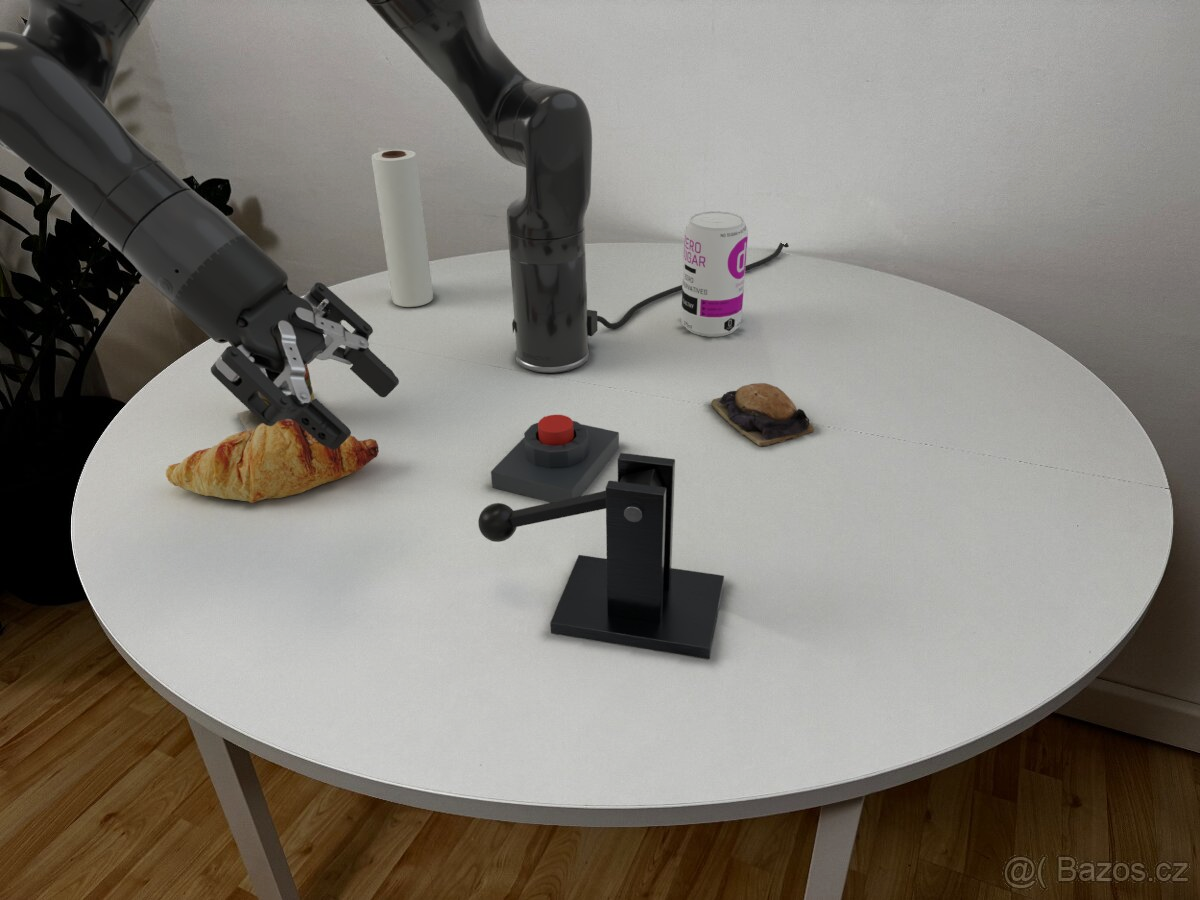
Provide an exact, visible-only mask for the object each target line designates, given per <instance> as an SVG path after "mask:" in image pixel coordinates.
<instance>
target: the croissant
mask: <svg viewBox="0 0 1200 900" xmlns="http://www.w3.org/2000/svg"><path fill="white" fill-rule="evenodd" d="M379 451H380V450H379V445H378V442H377V440H376V439H372V438H368V439H363V440H362V439H361V440H358V439H357V438H356V437H355V436H354V435H350V436H349V437H348V438H347V439H346V440H345V441H344V442H343V443H342V444H341V445H340V446H339V447H338V448H337V449H336V450H332V449H330V448H329V447H326V446H323V445H321V444H320V443H319V442H318V441H317V440H316V439H315V438H313V437H312V436H311V435H310V434H309V433H308V432H307V431H305V430H304V429H303V428H302V427H301V426H300V425H299V424H298V423H296V422H295V421H293V420H287V419H285V420H282V421H278V422H276V424H275V425H273V426H267V425H265V424H264V423H261V424H260V425H258V427H257V428H256V429H254V430H249V431H246V430H243V431H241V432H237V433H235V434H232V435H229V436H227V437H225V438H223V440H221V441H220V442H219V443H218V444H216V445H214V446H213V445H212V447H207V448H204V449H199V450H196V451H194V452H193V453H192V454H191V455H189V456H187V457H185V458H184V459H182V461H181V462H178V463H174V464H170V465H168V467H167V469H166V470H165V477H166V479H167V481H168V482H169V483H170V484H171V485H173V486H175V487H179V488H181V489H183V490H188V491H191V492H193V493H195V494H198V495H202V496H205V497H208V496H209V497H216V498H220V499H223V500H236V501H242V502H249V503H250V504H253V503H256V502H259V501H262V500H265V499H281V498H287V497H291V496H294V495H298V494H302V493H304V492H306V491H309V490H311V489H313V488H316V487H318V486H321V485H324V484H326V483H329V482H334V481H337V480H340V479H342V478H344V477H347V476H349V475H351V474H354V473H356V472H358V471H360V470H361V469H362V468H364V467H365V466H366V465H367V464H369V463H370V462H371V461H373V460H374V459H375V458H377V457H378V454H379Z"/></svg>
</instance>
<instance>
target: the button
mask: <svg viewBox="0 0 1200 900" xmlns="http://www.w3.org/2000/svg"><path fill="white" fill-rule="evenodd" d="M543 417H544V418H543ZM543 417H542V418H540V419H539V420H538V422H537V423H538V433H539V440H540V442H541V443H543V444H547V445H552V446H556V445H564V444H567V443H569V442H571V441H572V440H573V438H574V431H573V421H574V420H573V419H572V418H571V417H569V416H567V415H563V414H550V415H546V416H543Z"/></svg>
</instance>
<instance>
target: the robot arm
mask: <svg viewBox="0 0 1200 900" xmlns="http://www.w3.org/2000/svg"><path fill="white" fill-rule="evenodd" d="M365 1H366V2H367V4H368V5H369V6H370V7H371V8H372V9H373V10H374V11H375V13H376V14H377V15H378V16H379V17H380V18H381V19H382V20H383V21H384V22H385V24H387V26H388V27H389V28H390V29H391V30H392V31H393V32H394V33H395V34H396V36H398V37H399V38H400V40H402V41H403V42H404V43H405V44H406V45H407V46H408V47H409V48H410V50H411V51H412V52H413V53H414V54H415V55H416V56H417V57H418V58H419V59H420V60H421V61H422V63H424V65H425V66H426V67H427V68H428V69H429V70H430V71H431V72H432V73H433V74H434V75H435V76H436V77H437V79H439V80H440V81H441V82H442V83H443V84H444V85H445V86H446V87H447V89H449V90H450V91H451V93H452V94H453V96H454V97H455V98H456V99H457V101H458V102H459V103H460V105H461V106H462V107H463V108H464V110H465V111H466V113H467V114H468V116H469V117H470V118H471V119H472V121H473V122H474V124H475V125H476V127H477V128H478V129H479V131H480V132H481V134H482V135H483V136H484V138H485V139H486V140H487V142H488V143H489V145H490V147H492V148H493V150H494V151H495V152H496V153H497V154H498V155H499V156H501V158H503V159H504V160H506V161H507V162H509V163H511V164H513V165H516V166H519V167H522V168H525V195H524V196H521V197H518V198H515V199H514V200H512V201H511V202H510V203H509V204H508V206H507V209H506V225H507V227H506V228H507V239H508V252H509V264H510V277H511V279H510V280H511V294H512V295H511V296H512V309H513V310H512V311H513V319H512V323H511V326H512V328H511V329H512V333H514V338H515V340H514V341H515V360H516V363H517V364H518V365H519V366H520V367H522V368H524V369H526V370H529V371H532V372H536V373H546V374H549V373H550V374H552V373H554V374H555V373H563V372H568V371H571V370H575V369H577V368H579V367H581V366H583V365H584V364H586V363H587V361H588V360H589V355H590V354H589V351H590V350H589V337H593V336H594V335H595V334H596V333H597V332H598V329H599V327H598V322H599V323H601V325H603V326H604V327H605V328H606V329H611V330H615V329H618V328H620V327H622V326H623V325H625V324H626V323H627V322H628V321H629V319H630V318H631V317H632V316H633V314H634V313H636V311H638V310H639V309H641V308H643V307H645V306H647V305H649V304H650V303H653V302H655V301H657V300H660V299H663V298H665V297H667V296H670V295H672V294H676V293H678V292H682V284H680V285H678V286H677V285H676V286H675V287H672V288H668V289H667V290H663V291H661V292H659V293H656V294H653V295H651V296H649V297H647V298H645V299H643V300H642V301H640V302H638V303H636V304H634V305H633V306H632V307H630V309H628V310H627V312H626V313H625V314H624V315H623V317H622V318H621V319H620V320H618V321H616V322H610V321H608V320H607V319H606V318H604V317H603V316H601V315H598V310H591V309H588V289H587V285H588V284H587V265H586V264H587V261H586V259H587V258H586V227H585V226H586V225H585V223H586V221H585V220H586V219H585V217H586V212H587V210H588V207H589V204H590V200H591V193H592V169H593V166H592V165H593V127H592V121H591V116H590V112H589V109H588V107H587V104H586V103H585V101H584V100H583V99H582V97H581V95H579V94H577V93H576V92H574V91H572V90H570V89H568V88H564V87H559V86H555V85H549V84H544V83H540V82H537V81H534V80H532V79H530V78H529V77H527V76H526V74H524V72H522V71H521V70H520V69H519V68H518V67H517V66H516V65H515V64H514V63H513V62H512V60H511V59H510V58H509V57H508V55H506V54H505V53H504V51H503V50H502V49H501V48H500V47H499V46H498V43H496V41H495V39H494V38H493V37H492V35H491V33H490V31H489V29H488V26H487V24H486V21H485V16H484V13H483V9H482V6H481V1H480V0H365ZM154 2H155V0H27V3H28V9H29V10H28V18H27V21H26V23H25V25H24V28H23V30H22V32H21V33H19V32H15V31H9V30H3V29H2V30H1V29H0V147H1V148H2V149H3V150H4V151H6V152H7V153H8V154H11V155H12V156H14V157H16V158H18V159H20V160H22V161H23V162H24V163H25V164H27V165H28V166H29V167H30V168H32V170H34V171H35V172H36V173H38V175H40V176H42V177H43V179H45V180H46V181H47V182H48V183H50V184H51V185H52V186H53V187H54V188H55V189H56V190H57V191H58V192H59V193H60V194H61V195H62V196H63V197H64V198H65V199H66V201H67V202H68V203H69V204H70V205H71V207H72V208H73V209H74V210H75V211H76V213H77V214H78V215H79V216H80V217H81V218H82V219H83V220H84V221H85V222H87V223H88V224H89V225H90V226H91V227H92V229H94V230H95V231H96V232H97V233H98V234H99V235H100V236H101V237H102V238H104V239H105V240H106V241H107V242H108V243H109V244H110V245H111V246H113V247H114V249H116V250H117V251H118V252H119V253H120V254H122V255H123V256H124V257H125V258H126V259H127V260H128V261H129V262H130V263H131V264H132V265H133V267H135V269H136V270H137V271H138V273H139V274H140V275H141V276H142V277H143V278H144V279H145V280H146V281H147V282H148V283H149V284H150V285H151V286H152V287H153V288H155V290H156V291H158V292H159V293H160V294H161V295H162V296H164V298H165V299H167V300H168V301H169V302H170V303H171V304H172V305H173V306H175V307H176V309H178V310H179V311H180V312H181V313H182V314H184V315H185V316H186V317H187V318H188V319H189V320H190V321H192V322H193V323H194V324H195V325H196V326H197V327H198V328H199V329H200V330H202V331H203V332H204V333H205V334H206V335H207V336H208V337H209V338H211V340H213V342H215V343H217V344H227V343H229V344H230V345H229V346H227V347H226V348H225V349H224V351H222V353H221V354H220V355H219V357H218V358H217V359H216V360H215V362H213V364H212V365H211V367H210V372H211V375H213V377H215V378H216V379H217V380H218V381H219V382H220V383H221V384H222V385H223V386H224V387H225V388H226V389H227V390H228V391H229V392H230V393H231V394H232V395H233V396H234V397H235V398H236V399H237V400H239V401H240V402H241V404H242V405H244V406H245V407H246V408H247V409H248V411H249V410H250V411H251V412H252V413H253V414H254V415H255V416H256V417H257V418H258V419H259V420H261V421H262V422H263V423H264V424H265V425H267V426H273V425H275V424H276V422H278V421H282V420H285V419H287V420H293V421H295V422H296V423H298V424H299V425H300V426H301V427H302V428H303V429H304V430H305V431H307V432H308V433H309V434H310V435H311V436H312V437H313V438H315V439H316V440H317V441H318V442H319V443H320V444H321V445H323V446H326V447H329V448H330V449H332V450H336V449H337V448H338V447H339V446H340V445H341V444H342V443H343V442H344V441H345V440H346V439H347V438H348V437H349V436H350V435H351V434H352V431H351V430H350V428H349V427H348V426H347V425H346V424H345V423H344V422H342V421H341V420H340V419H339V418H338V417H337V416H336V415H335V414H334V413H333V412H332V411H331V410H330V409H328V408H327V407H326V406H325V405H324V404H323V403H322V402H320V401H319V399H317V398H314V400H313V401H312V402H311V395H310V393H309V390H308V387H307V385H306V382H305V379H304V376H305V373H306V369H305V365H307V366H308V365H309V364H311V363H312V362H313V361H314V360H315V359H317V360H319V361H327V360H333V361H337V362H339V363H342V364H345V365H349V366H350V367H349V370H350V371H351V372H352V373H354V374H355V375H356V376H357V377H358V378H359V379H360V380H361V381H362V382H363V383H364V384H365V385H367V387H369V388H370V389H371V390H372V391H373V392H374V393H375V394H377V395H378V396H379V397H380V398H386V397H388V396H389V395H390V393H392V391H394V390H395V388H396V387H397V386H399V384H400V380H399V378H398V376H396V375H395V372H394V371H393V370H392V369H391V368H390V367H389V366H387V364H385V363H384V362H383V360H381V359H380V358H379V357H378V356H377V355H376V354H375V353H374V352H373V351H372V350H371V349H370V347H369V346H370V342H369V339H370V336H371V335H372V334H373V332H374V329H373V327H372V326H371V324H370V323H368V322H367V321H366V320H365V319H364V318H362V317H361V316H360V314H358V313H357V312H356V311H354V309H352V308H351V307H350V306H349V305H348V304H347V303H346V302H344V301H343V300H342V299H341V298H340V297H339V296H338V295H336V293H334V292H333V291H332V290H331V289H329V287H327V285H325V284H323V282H315V283H314V285H313V286H312V287H311V288H310V289H309V290H308V291H307V292H306V294H305V295H304V297H301V296H299V295H297V294H295V293H294V292H292V291H291V290H290V288H289V286H288V281H289V276H288V273H287V272H286V271H285V270H284V269H283V268H282V267H281V266H280V265H279V264H278V263H276V261H275V260H273V259H272V258H271V257H270V256H269V255H268V254H267V253H266V252H265V251H264V250H263V249H262V248H261V247H260V246H258V244H257V243H255V242H254V241H253V240H252V239H251V238H250V237H249V236H248V235H247V234H246V233H245V232H244V231H242V229H240V228H239V227H238V226H237V225H236V224H235V223H234V222H233V221H232V220H231V219H230V218H228V216H226V215H225V214H224V213H223V212H222V211H221V210H219V208H217V206H215V205H213V204H212V203H211V202H209V201H208V200H206V199H205V198H203V197H202V196H201V195H200V194H199V193H197V192H196V191H195V190H194V189H192V188H191V187H190V186H189V185H188V183H186V182H185V181H184V180H183V179H182V178H180V176H178V174H176V172H174V171H173V169H171V168H170V167H169V166H168V165H167V164H166V163H165V162H164V161H163V160H161V159H160V158H159V157H158V156H157V155H156V154H155V153H153V152H152V151H151V150H150V149H148V148H147V147H145V145H143V144H142V143H141V142H140V141H139V140H137V138H135V136H133V135H132V134H131V133H130V132H129V131H128V130H127V129H126V128H125V126H124V125H123V124H121V122H120V121H119V119H117V118H116V116H115V115H114V114H113V113H112V112H111V111H110V110H109V108H108V107H106V105H105V103H106V101H107V98H108V95H109V93H110V90H111V88H112V85H113V83H114V80H115V77H116V74H117V71H118V68H119V65H120V61H121V59H122V56H123V53H124V50H125V48H126V46H127V45H128V42H130V40H131V38H132V37H133V36H134V34H135V33H136V31H137V30H138V28H139V26H141V24H142V22H143V21H144V19H145V17H146V15H147V13H149V10H150V9H151V7H152V5H153V4H154ZM789 247H790V246H789V244H788V242H787V243H786V244H785V245H784V244H782V243H781V242H779V244H778V246H777V248H776V250H775V251H774V252H773V253H772V254H770V255H768V256H766V257H764V258H762V259H760V260H757V261H755V262H752V263H749V264H747V265H746V266H745V272H746V271H749V270H752V269H755V268H758V267H760V266H762V265H764V264H766V263H769V262H770V261H772V260H774V259H776V258H777V257H778V256H779V255H780V253H781V252H782V251H783V248H789ZM342 321H345V322H346V323H347V324H348V325H349V326H351V328H353V329H354V330H353V331H352V332H351V331H349V330H348V329H347V328H346V327H345V326H344V325H343V324H342ZM324 335H325V336H324ZM342 346H344V347H342ZM351 365H352V366H351ZM257 366H258V367H260V369H261V370H260V369H259V368H258V367H257ZM258 392H260V393H261V394H262V395H263V396H264V397H265V398H266V399H267V400H268V401H269V402H270V405H268V404H267V403H266V402H264V401H263V400H262V399H261V398H260V397H259V395H258ZM351 436H352V435H351Z"/></svg>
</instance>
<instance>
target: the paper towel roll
mask: <svg viewBox="0 0 1200 900" xmlns="http://www.w3.org/2000/svg"><path fill="white" fill-rule="evenodd" d="M417 158H418V157H417V153H416V152H415V151H413V150H409V149H402V148H383V147H378V151H377V152H375V153H373V154H371V164H372V170H373V177H374V178H373V179H374V185H375V193H376V197H377V198H376V200H377V205H378V211H379V212H378V213H379V217H380V225H381V233H382V237H383V245H384V246H383V247H384V252H385V258H386V266H387V272H388V273H387V274H388V280H389V285H390V293H391V299H392V300H391V301H392V302H393V304H394V305H396V306H399V307H406V308H414V307H420V306H424V305H426V304H429V303H431V302H432V301H433V300H434V292H433V291H434V290H433V284H432V282H433V281H432V275H431V268H430V267H431V266H430V265H431V264H430V258H429V250H428V249H429V248H428V240H427V233H426V232H427V231H426V226H425V218H424V209H423V200H422V193H421V185H420V184H421V183H420V175H419V166H418V159H417Z"/></svg>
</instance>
